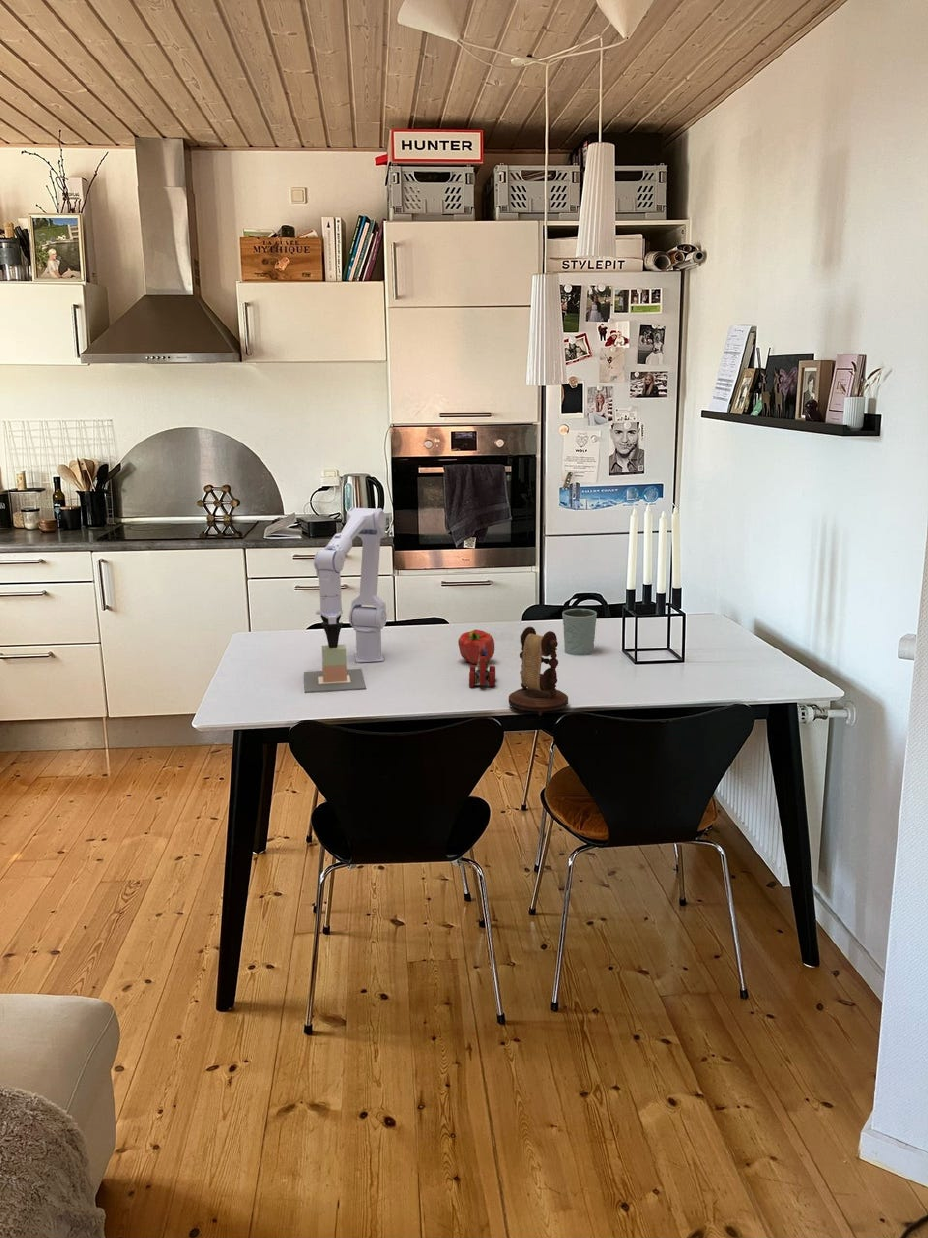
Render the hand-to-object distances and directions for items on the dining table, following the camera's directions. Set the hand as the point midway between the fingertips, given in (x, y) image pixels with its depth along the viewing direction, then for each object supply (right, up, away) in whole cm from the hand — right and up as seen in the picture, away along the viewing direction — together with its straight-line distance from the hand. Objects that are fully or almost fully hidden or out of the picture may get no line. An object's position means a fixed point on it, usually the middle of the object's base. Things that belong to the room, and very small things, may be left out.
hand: (332, 644), depth 267 cm
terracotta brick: (0, -10, +2) cm, 10 cm away
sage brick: (0, -5, +1) cm, 5 cm away
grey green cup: (+70, -3, +29) cm, 75 cm away
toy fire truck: (+40, -11, -1) cm, 42 cm away
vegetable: (+39, -6, +19) cm, 44 cm away
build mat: (0, -10, +2) cm, 10 cm away
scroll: (+54, -15, -20) cm, 59 cm away
